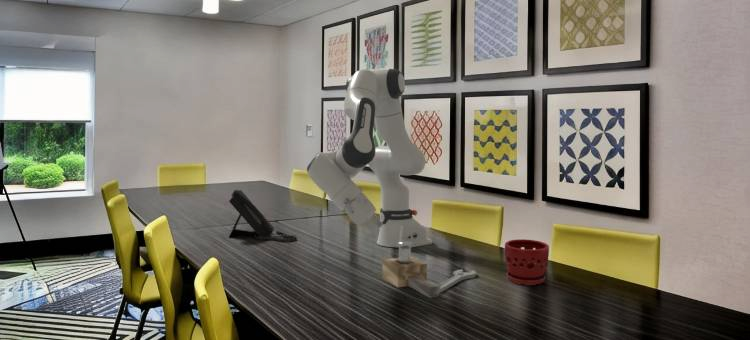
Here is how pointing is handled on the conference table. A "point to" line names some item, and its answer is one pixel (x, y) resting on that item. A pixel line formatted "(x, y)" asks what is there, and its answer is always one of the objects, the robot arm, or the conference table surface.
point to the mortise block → (409, 276)
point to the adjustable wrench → (456, 279)
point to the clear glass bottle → (404, 252)
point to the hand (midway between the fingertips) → (379, 229)
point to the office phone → (255, 218)
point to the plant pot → (526, 261)
